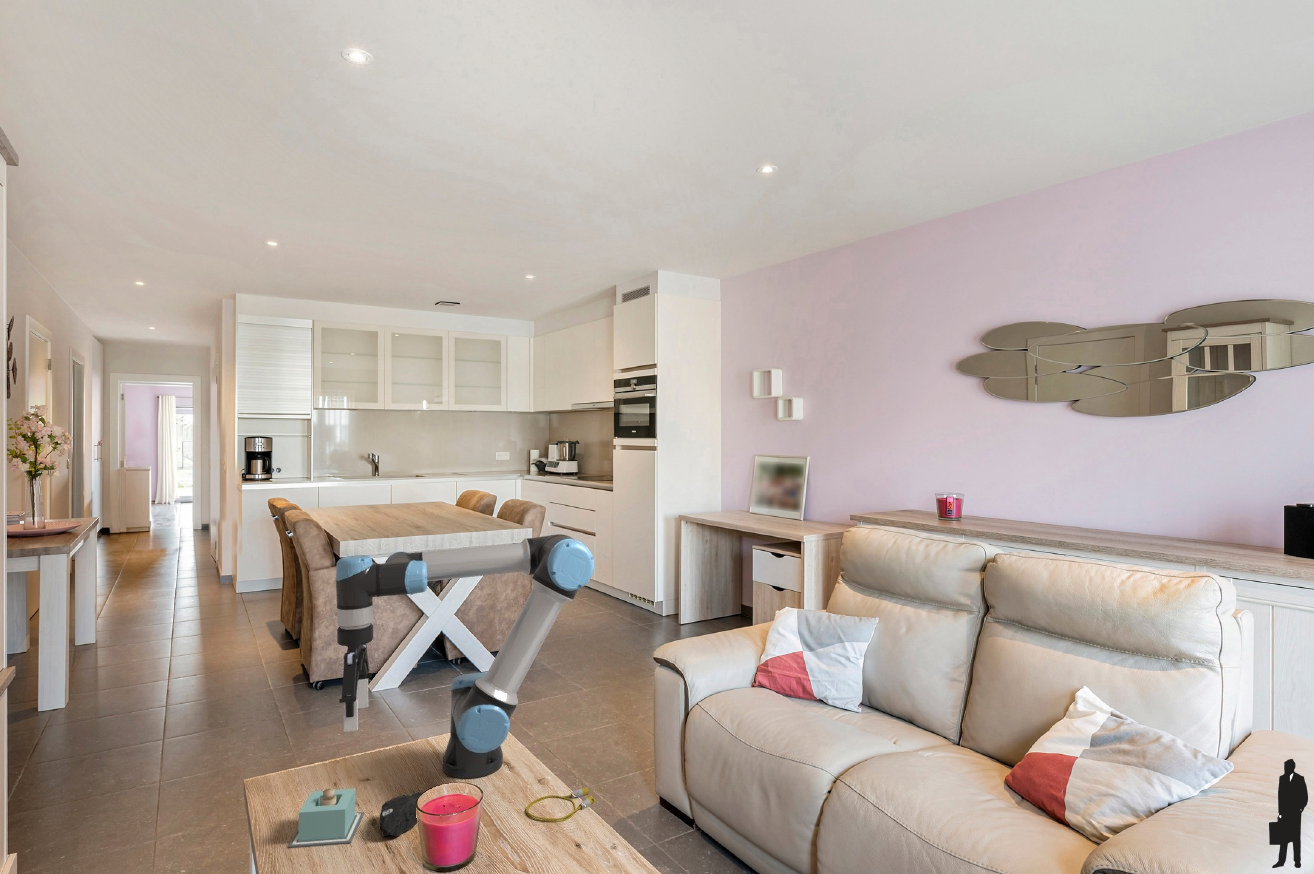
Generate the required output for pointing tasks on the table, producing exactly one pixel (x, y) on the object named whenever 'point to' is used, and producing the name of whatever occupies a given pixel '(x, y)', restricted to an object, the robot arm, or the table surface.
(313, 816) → the block with square hole
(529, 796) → the table surface
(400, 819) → the rock
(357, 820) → the mat
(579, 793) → the extension cord
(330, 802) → the post
